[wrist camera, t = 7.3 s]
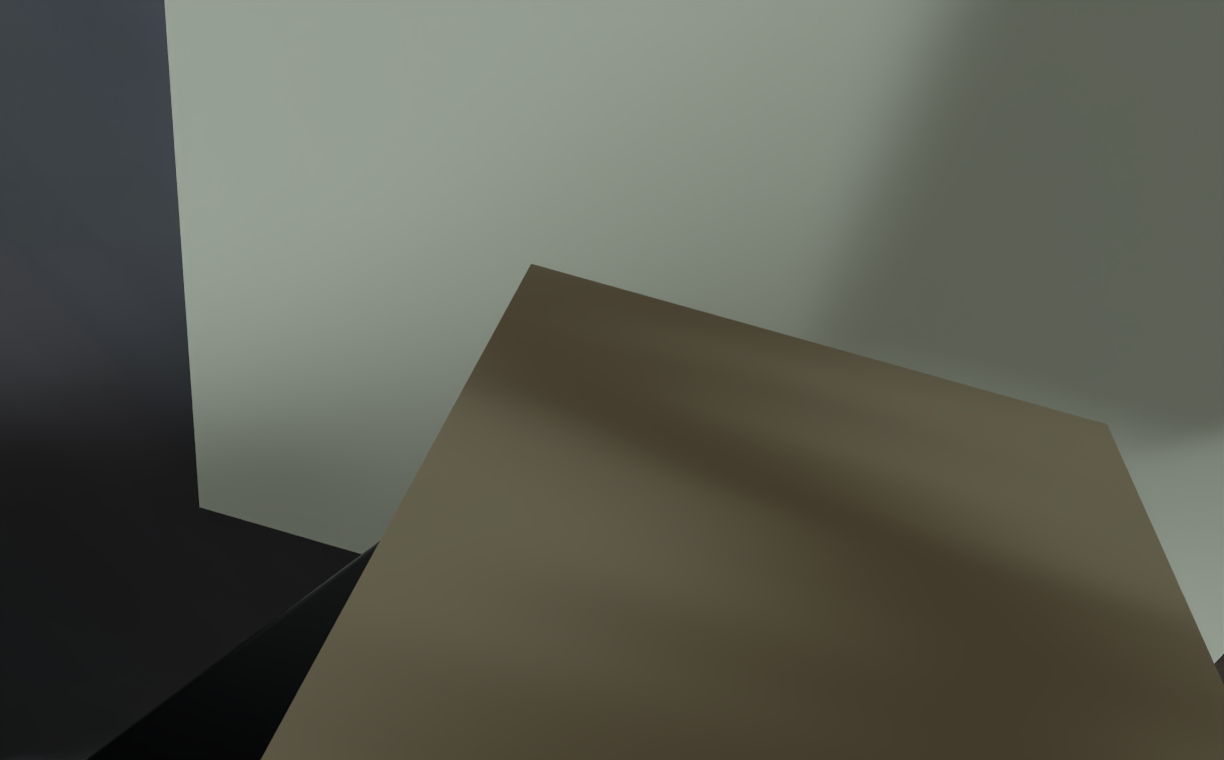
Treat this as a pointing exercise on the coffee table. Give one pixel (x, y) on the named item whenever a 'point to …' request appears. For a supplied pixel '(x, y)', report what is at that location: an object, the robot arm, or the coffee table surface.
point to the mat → (698, 216)
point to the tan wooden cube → (753, 565)
